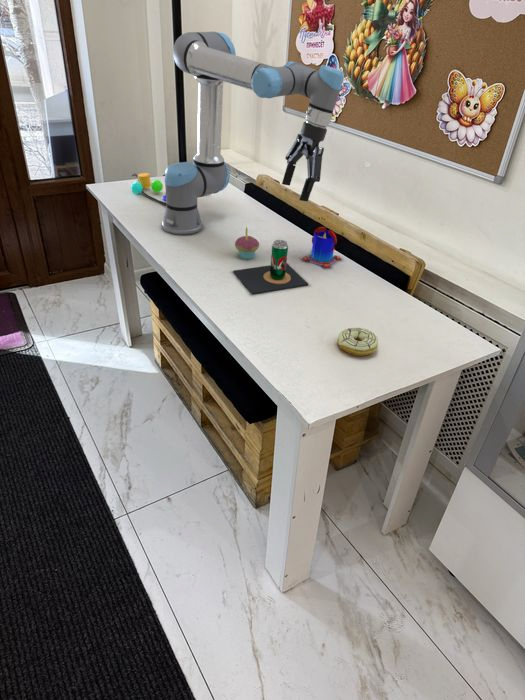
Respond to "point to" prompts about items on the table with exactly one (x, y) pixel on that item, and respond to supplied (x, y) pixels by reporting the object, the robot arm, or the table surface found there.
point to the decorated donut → (357, 341)
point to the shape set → (147, 184)
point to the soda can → (278, 259)
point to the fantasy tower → (323, 248)
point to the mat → (268, 279)
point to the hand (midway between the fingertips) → (294, 192)
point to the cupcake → (247, 246)
